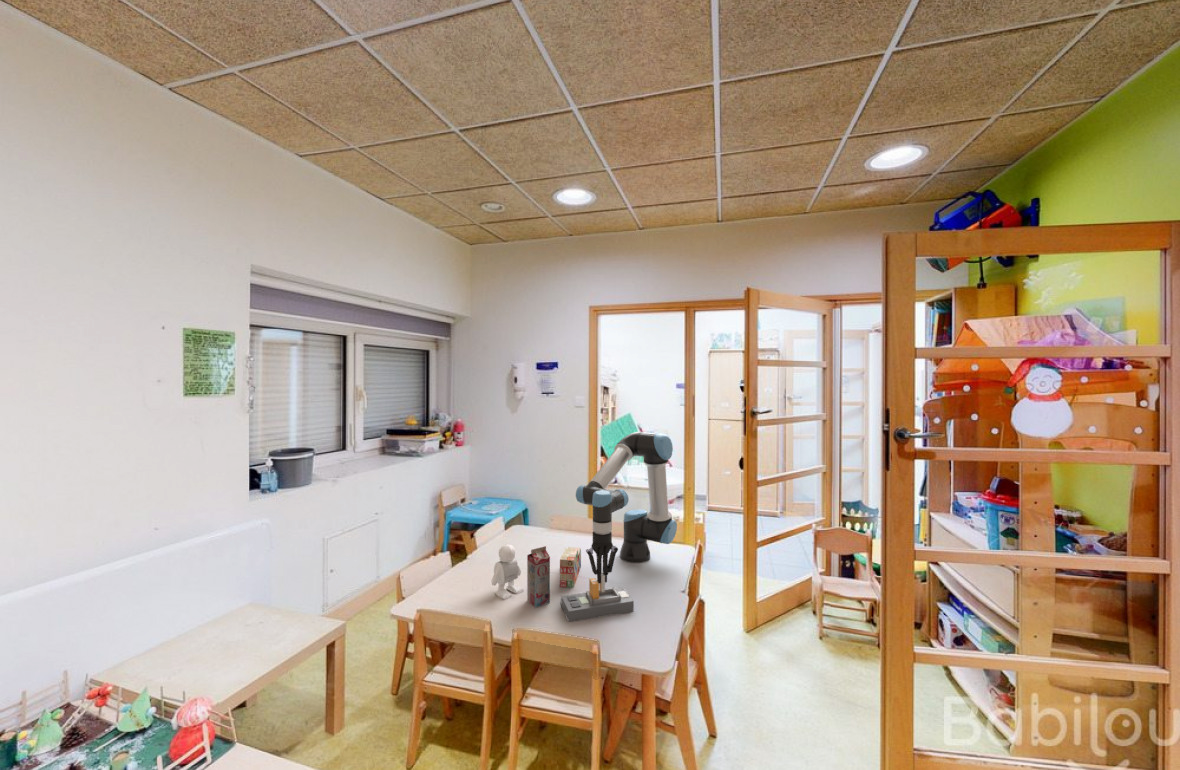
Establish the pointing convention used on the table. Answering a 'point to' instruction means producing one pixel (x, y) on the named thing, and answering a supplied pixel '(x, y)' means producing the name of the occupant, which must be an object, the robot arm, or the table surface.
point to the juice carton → (538, 577)
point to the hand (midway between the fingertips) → (602, 590)
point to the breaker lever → (594, 588)
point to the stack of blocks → (570, 566)
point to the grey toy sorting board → (596, 604)
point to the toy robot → (506, 572)
